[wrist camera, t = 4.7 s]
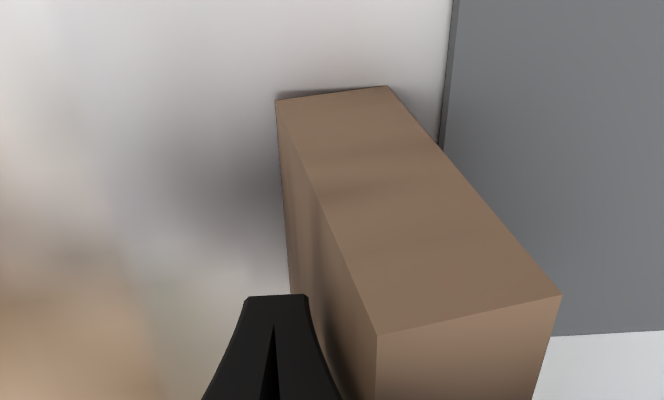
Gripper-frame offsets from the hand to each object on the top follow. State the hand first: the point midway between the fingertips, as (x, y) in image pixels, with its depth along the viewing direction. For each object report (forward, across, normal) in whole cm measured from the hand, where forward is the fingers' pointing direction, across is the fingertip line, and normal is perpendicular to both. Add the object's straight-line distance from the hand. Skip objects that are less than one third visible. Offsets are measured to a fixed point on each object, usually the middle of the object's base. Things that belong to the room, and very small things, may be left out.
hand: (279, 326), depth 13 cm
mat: (+5, -9, 0) cm, 10 cm away
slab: (+5, -2, 0) cm, 5 cm away
